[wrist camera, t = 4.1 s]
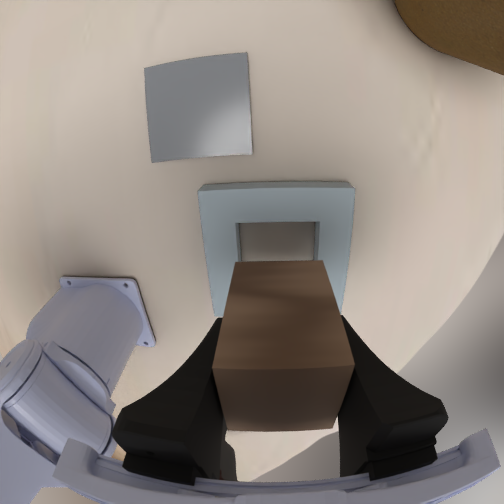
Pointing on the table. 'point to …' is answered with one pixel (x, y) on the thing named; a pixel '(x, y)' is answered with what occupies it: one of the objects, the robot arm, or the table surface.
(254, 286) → the walnut block
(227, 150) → the plate
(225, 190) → the pocket holder
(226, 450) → the sundae
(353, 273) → the table surface
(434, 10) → the plant pot
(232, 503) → the robot arm
